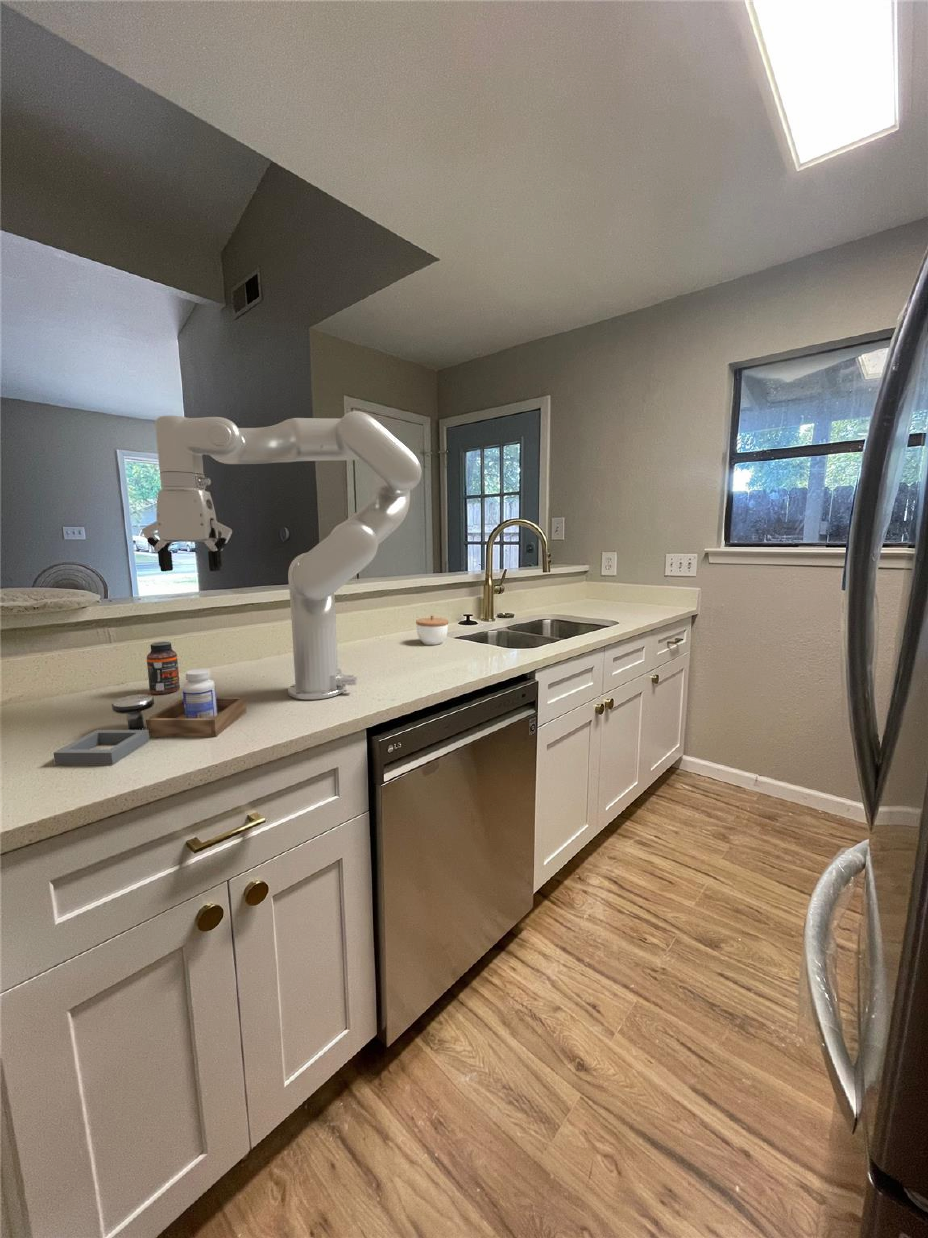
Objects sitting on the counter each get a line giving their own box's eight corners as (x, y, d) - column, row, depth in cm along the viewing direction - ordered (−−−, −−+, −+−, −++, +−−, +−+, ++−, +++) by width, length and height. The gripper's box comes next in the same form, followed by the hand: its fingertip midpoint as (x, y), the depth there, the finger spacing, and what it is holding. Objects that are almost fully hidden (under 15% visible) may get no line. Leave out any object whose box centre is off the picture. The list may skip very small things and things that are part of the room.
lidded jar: (455, 643, 163) (455, 615, 162) (431, 648, 156) (431, 619, 154) (433, 638, 170) (433, 612, 169) (409, 643, 163) (409, 615, 161)
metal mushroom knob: (164, 722, 93) (161, 694, 92) (142, 735, 87) (138, 705, 86) (130, 722, 93) (127, 693, 92) (106, 735, 87) (102, 705, 86)
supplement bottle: (166, 696, 108) (161, 646, 106) (143, 694, 109) (138, 645, 108) (186, 688, 114) (181, 641, 112) (164, 686, 115) (159, 639, 113)
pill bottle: (193, 715, 95) (189, 667, 93) (222, 714, 95) (218, 666, 94) (180, 726, 90) (174, 675, 88) (210, 725, 90) (206, 674, 88)
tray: (246, 712, 99) (245, 697, 98) (216, 736, 86) (214, 720, 86) (186, 712, 99) (184, 697, 98) (147, 736, 87) (145, 719, 86)
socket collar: (149, 740, 85) (148, 730, 84) (112, 764, 76) (111, 752, 75) (98, 740, 85) (96, 729, 84) (55, 764, 76) (53, 752, 75)
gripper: (235, 486, 100) (242, 569, 103) (150, 485, 99) (159, 569, 102) (218, 481, 92) (225, 572, 95) (125, 481, 92) (136, 572, 95)
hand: (191, 570), depth 99 cm, fingers open, 9 cm apart
